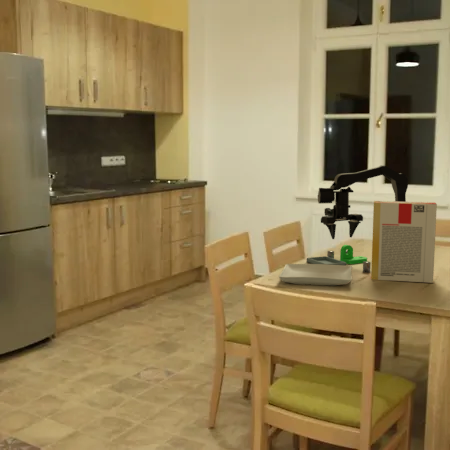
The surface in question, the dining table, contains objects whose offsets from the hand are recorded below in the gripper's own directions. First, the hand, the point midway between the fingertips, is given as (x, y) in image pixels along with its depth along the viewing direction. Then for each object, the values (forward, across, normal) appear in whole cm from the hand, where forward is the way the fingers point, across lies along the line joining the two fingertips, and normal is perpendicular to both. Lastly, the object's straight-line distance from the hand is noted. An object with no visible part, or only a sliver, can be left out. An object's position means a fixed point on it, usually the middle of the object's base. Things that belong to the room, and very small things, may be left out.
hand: (342, 238), depth 267 cm
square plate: (+12, +27, +21) cm, 36 cm away
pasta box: (+12, -3, +35) cm, 37 cm away
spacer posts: (+12, -6, +5) cm, 14 cm away
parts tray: (+11, +8, -1) cm, 14 cm away
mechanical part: (+12, -7, -1) cm, 14 cm away
